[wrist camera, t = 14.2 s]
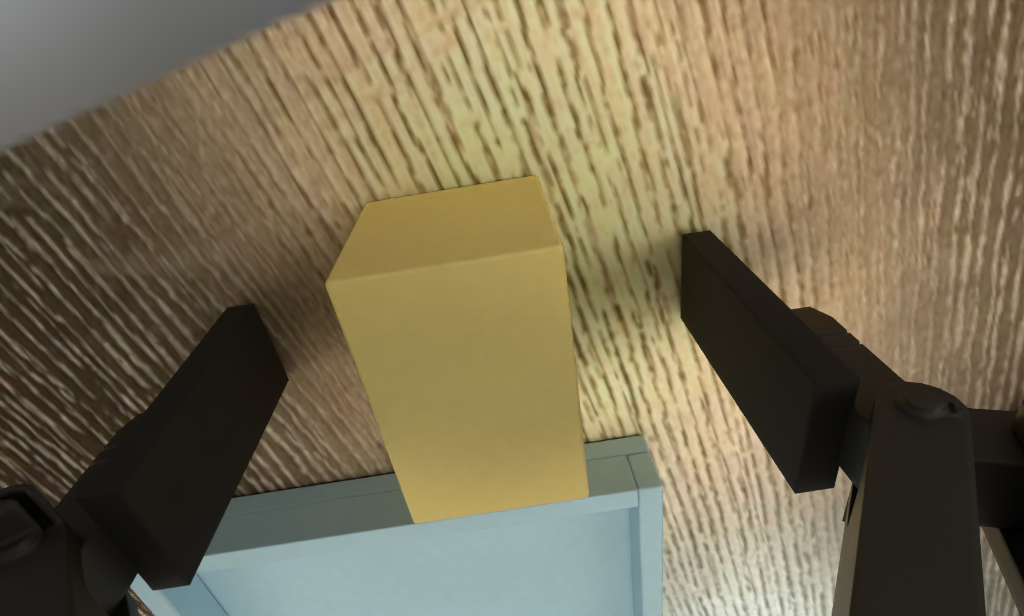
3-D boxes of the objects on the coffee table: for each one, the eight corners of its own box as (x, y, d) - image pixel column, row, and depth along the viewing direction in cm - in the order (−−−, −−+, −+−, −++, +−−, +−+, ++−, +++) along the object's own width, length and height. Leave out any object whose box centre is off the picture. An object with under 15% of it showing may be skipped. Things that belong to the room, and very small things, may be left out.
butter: (563, 385, 17) (590, 498, 13) (426, 406, 17) (413, 525, 13) (537, 173, 14) (563, 244, 10) (365, 201, 14) (322, 283, 10)
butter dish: (288, 692, 26) (273, 750, 24) (151, 509, 19) (113, 570, 17) (648, 639, 25) (663, 694, 23) (643, 433, 18) (663, 486, 16)
